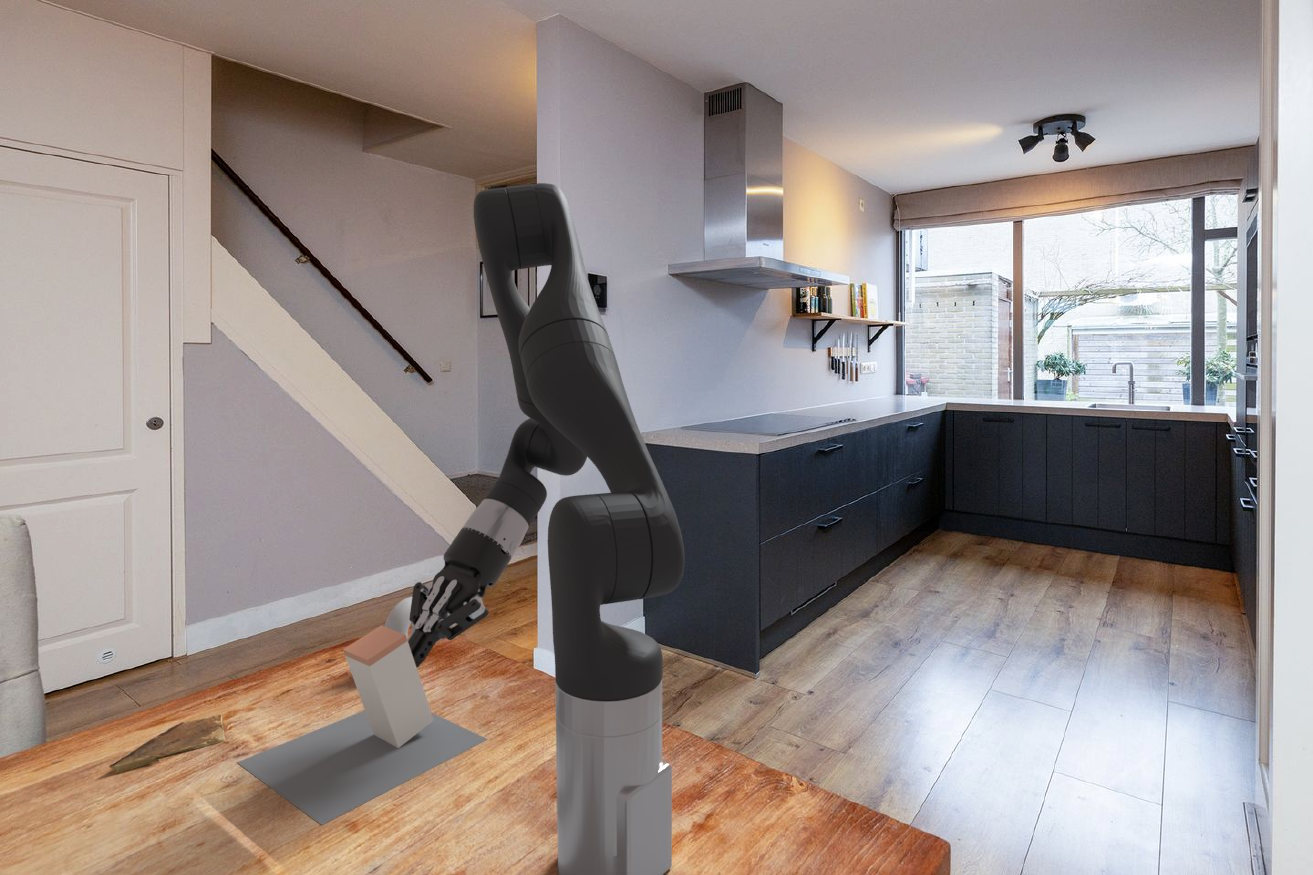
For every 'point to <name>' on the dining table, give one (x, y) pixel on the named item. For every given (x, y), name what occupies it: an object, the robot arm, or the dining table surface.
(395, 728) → the block
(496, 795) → the dining table surface
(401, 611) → the donut
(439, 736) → the mat
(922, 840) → the dining table surface
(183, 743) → the shard
